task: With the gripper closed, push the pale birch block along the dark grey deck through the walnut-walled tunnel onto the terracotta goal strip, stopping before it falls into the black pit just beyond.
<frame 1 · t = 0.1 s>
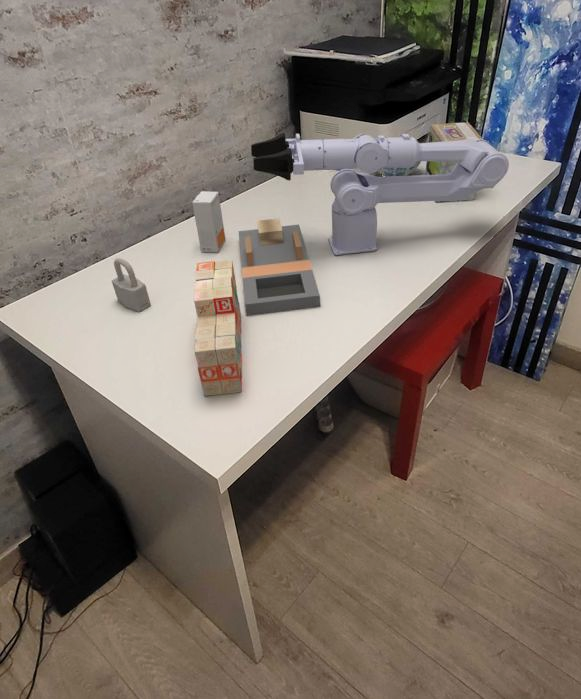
hand: (252, 157, 103), 22 cm above the table, tool horizontal, fingers open, 7 cm apart
stack of blocks: (224, 353, 91), on the table
chinaware: (394, 177, 145), on the table
padlock: (134, 304, 105), on the table
birch block: (270, 237, 117), point 2 cm above the table, touching tunnel deck
tea box: (448, 190, 137), on the table
tunnel deck: (274, 261, 114), on the table
skincare box: (214, 247, 121), on the table
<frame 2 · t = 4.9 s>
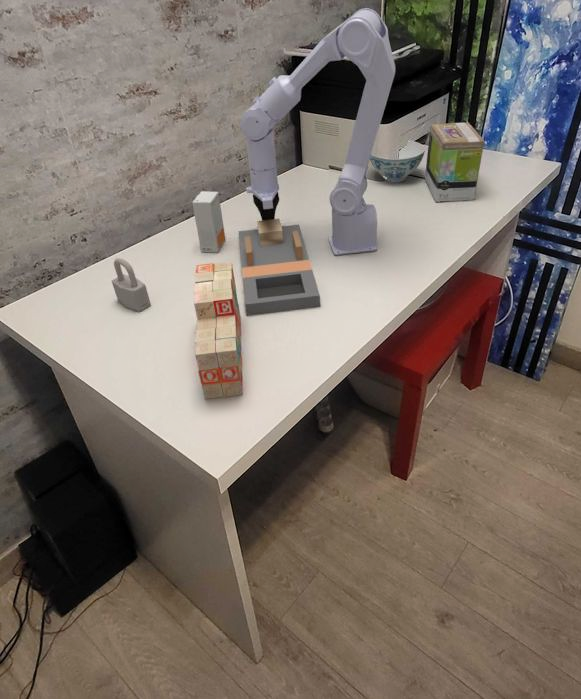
hand: (268, 225, 120), 3 cm above the table, tool pointing down, fingers closed
birch block: (270, 238, 117), point 3 cm above the table, touching gripper
everything else where it was.
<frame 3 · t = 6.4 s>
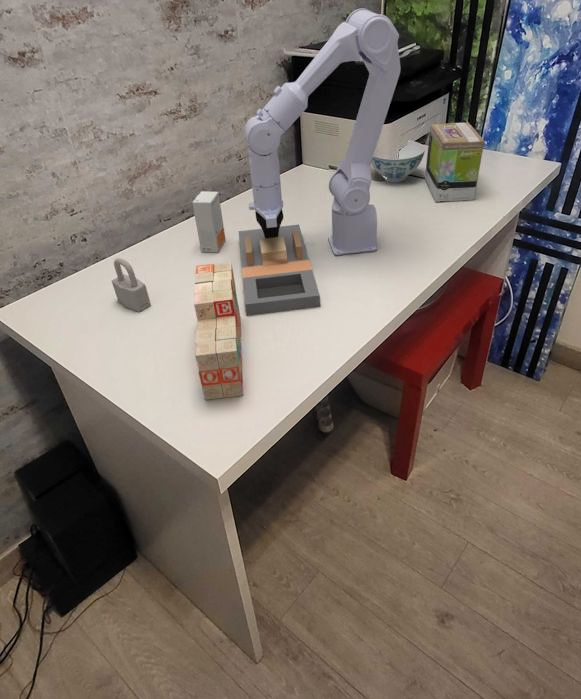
hand: (272, 243, 113), 4 cm above the table, tool pointing down, fingers closed
birch block: (273, 257, 110), point 2 cm above the table, touching gripper, tunnel deck
everything else where it was.
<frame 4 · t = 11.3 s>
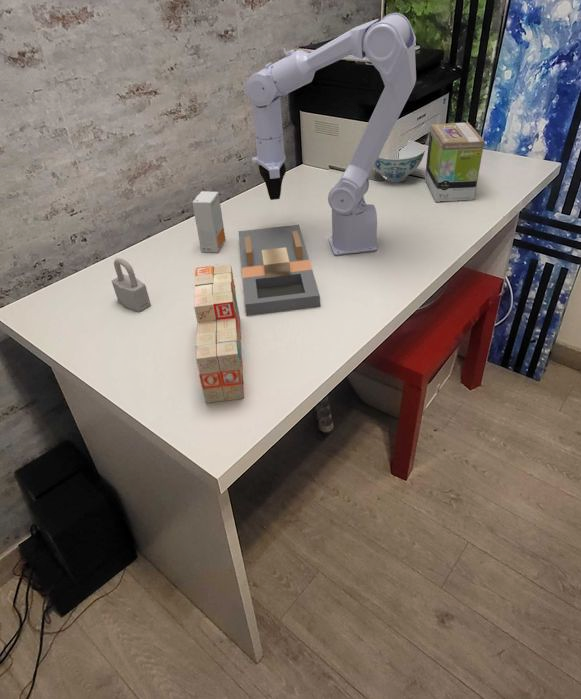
hand: (274, 198, 117), 9 cm above the table, tool pointing down, fingers closed
birch block: (276, 269, 107), point 2 cm above the table, touching tunnel deck
at the end: birch block 0.2 cm from the target spot on the tunnel deck, point 2.5 cm above the tunnel deck's base; birch block tilted 0° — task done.
